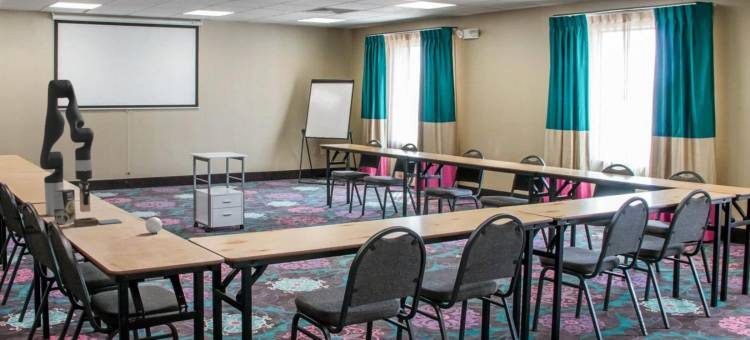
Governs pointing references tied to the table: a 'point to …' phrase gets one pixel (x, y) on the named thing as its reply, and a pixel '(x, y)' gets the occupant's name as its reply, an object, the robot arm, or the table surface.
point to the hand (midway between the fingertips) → (85, 204)
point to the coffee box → (64, 206)
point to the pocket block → (85, 222)
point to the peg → (83, 207)
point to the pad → (109, 221)
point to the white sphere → (153, 225)
